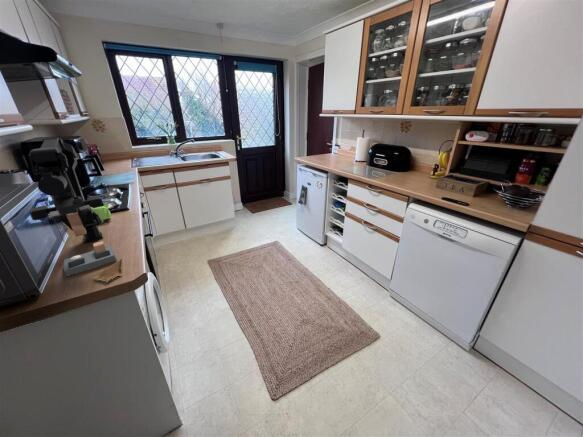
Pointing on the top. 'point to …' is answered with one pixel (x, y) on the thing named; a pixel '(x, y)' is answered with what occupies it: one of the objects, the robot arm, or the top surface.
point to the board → (89, 259)
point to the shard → (110, 271)
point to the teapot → (102, 212)
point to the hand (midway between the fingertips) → (79, 228)
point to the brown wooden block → (76, 224)
